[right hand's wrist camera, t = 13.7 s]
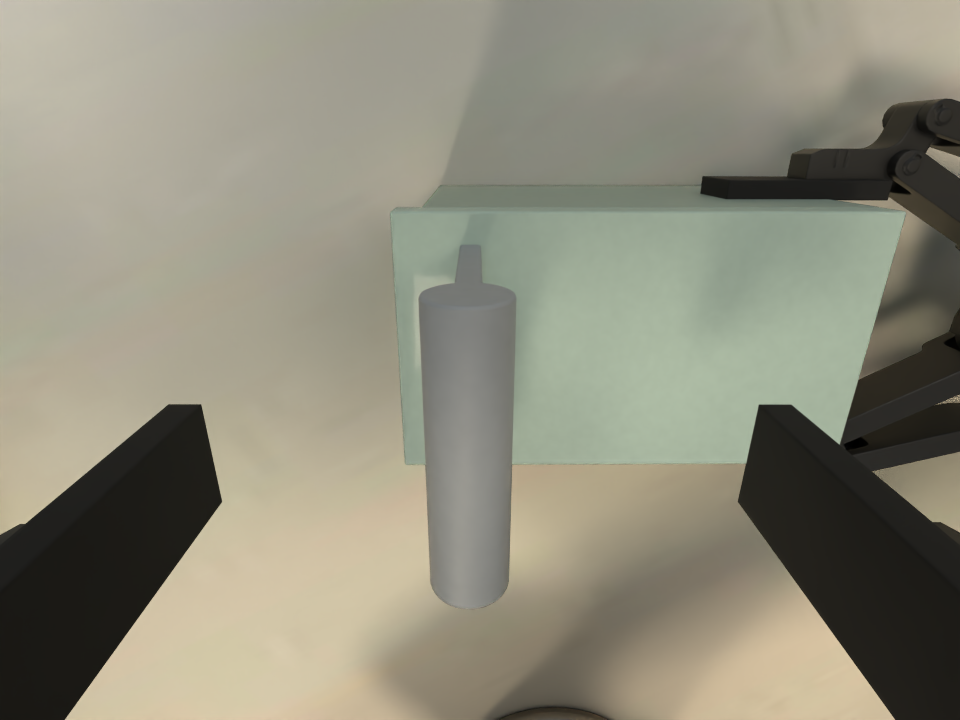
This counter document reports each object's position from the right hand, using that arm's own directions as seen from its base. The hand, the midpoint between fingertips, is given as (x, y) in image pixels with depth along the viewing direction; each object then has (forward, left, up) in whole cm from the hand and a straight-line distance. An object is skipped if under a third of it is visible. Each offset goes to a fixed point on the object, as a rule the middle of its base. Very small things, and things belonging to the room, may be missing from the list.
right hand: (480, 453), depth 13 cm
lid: (+2, -5, -8) cm, 10 cm away
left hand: (+4, -9, -12) cm, 16 cm away
